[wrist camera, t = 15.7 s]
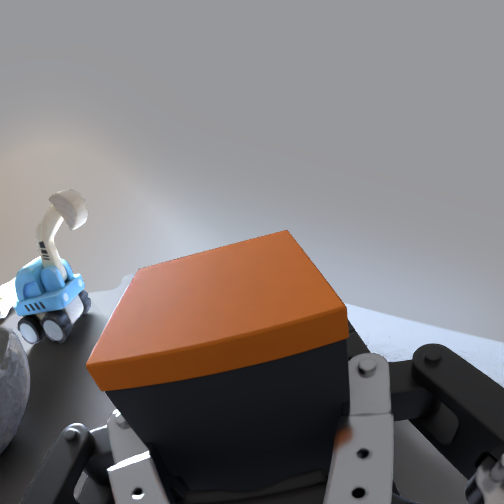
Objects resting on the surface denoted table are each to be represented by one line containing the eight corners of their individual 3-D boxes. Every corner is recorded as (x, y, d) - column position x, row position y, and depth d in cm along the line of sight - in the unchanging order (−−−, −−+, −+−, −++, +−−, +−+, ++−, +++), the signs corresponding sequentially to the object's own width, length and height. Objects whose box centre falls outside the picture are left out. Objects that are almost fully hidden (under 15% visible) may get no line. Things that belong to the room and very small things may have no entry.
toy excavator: (111, 338, 32) (51, 193, 26) (23, 347, 33) (-29, 235, 27) (134, 301, 40) (89, 179, 34) (50, 317, 41) (8, 216, 35)
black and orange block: (320, 413, 14) (287, 229, 11) (352, 499, 9) (347, 306, 6) (218, 437, 14) (138, 268, 11) (222, 526, 9) (83, 366, 5)
